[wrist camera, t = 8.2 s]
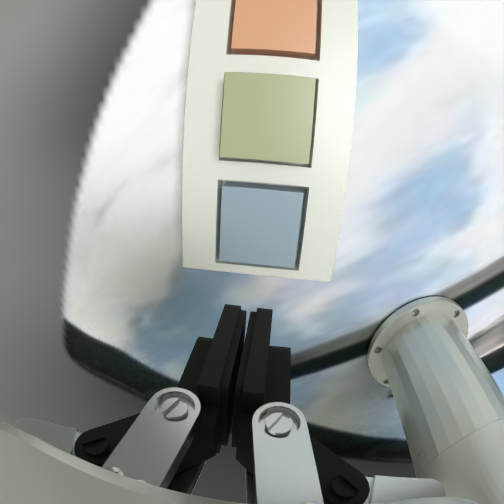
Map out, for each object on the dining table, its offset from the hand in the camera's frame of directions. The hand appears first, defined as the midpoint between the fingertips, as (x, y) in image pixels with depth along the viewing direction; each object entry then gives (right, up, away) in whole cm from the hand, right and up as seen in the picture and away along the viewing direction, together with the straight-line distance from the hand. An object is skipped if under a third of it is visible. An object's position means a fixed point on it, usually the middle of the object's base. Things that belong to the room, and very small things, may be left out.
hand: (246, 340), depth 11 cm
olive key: (+1, +13, +9) cm, 16 cm away
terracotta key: (+2, +20, +8) cm, 22 cm away
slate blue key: (+1, +6, +14) cm, 15 cm away
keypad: (+2, +14, +12) cm, 18 cm away
